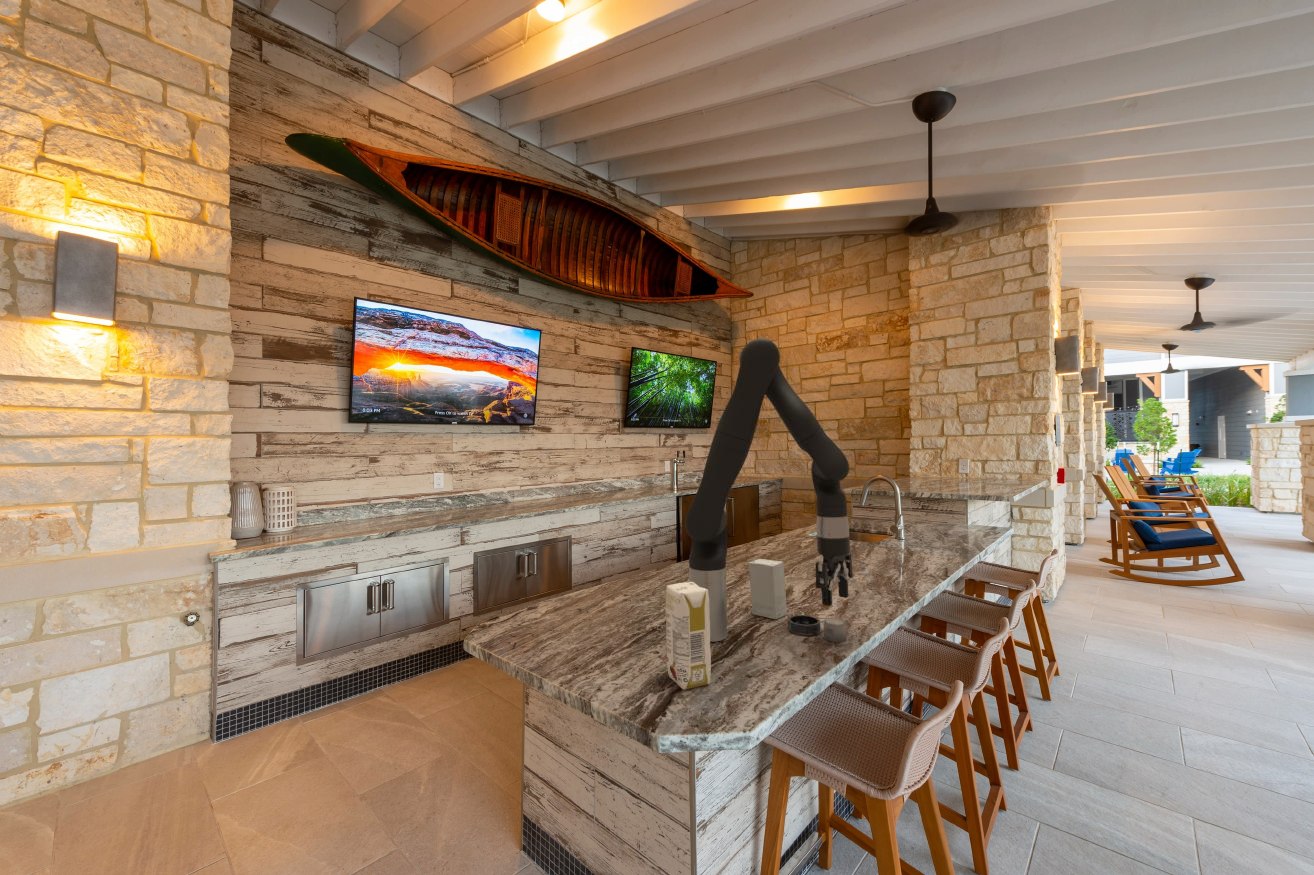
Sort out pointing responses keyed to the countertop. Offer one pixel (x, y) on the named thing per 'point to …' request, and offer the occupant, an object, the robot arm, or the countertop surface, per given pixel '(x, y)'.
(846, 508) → the robot arm
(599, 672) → the countertop surface
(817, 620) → the black round dish
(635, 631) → the countertop surface
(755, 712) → the countertop surface
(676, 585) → the juice carton
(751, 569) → the skincare box
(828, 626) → the cap
